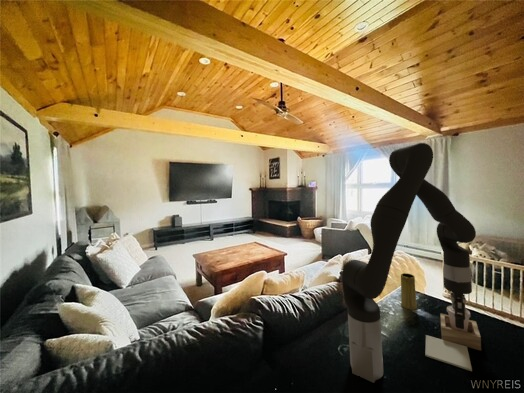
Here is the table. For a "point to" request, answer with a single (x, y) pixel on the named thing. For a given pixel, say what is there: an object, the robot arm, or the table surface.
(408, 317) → the table surface
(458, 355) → the mat
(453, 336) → the sleeve
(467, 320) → the smoothie
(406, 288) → the vase
